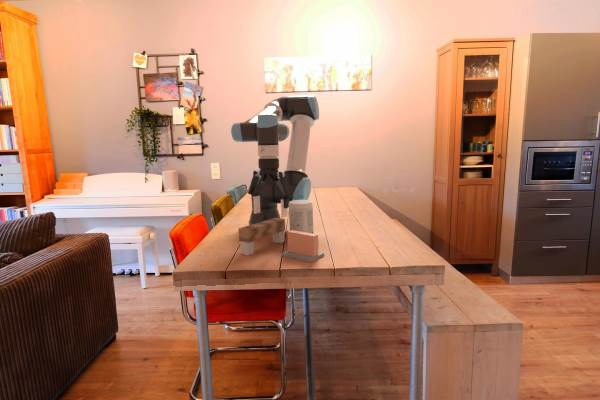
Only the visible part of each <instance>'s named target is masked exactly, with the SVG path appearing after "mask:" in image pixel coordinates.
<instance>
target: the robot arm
mask: <svg viewBox="0 0 600 400" xmlns="http://www.w3.org/2000/svg"><path fill="white" fill-rule="evenodd" d="M319 109H320V108H319V102H318V100H317V97H316V96H315V95H313V94H305V95H284V96H280V97H278V98H274V99H273V100H271V101H269V102H268V103H267V104H266V105H264V107H263V109H261V110H260V111H259V112H257V113H256V114H255V115H253V116H252V117H250V118H248V119H247V120H245V121H244V122H241V121H239V122H235V123H233V124H232V126H231V129H230V134H231V137H232V139H233V141H234V142H236V143H238V142H239V143H251V142H252V143H255V142H257V154H258V155H257V156H258V162H257V163H258V164H257V165H258V169H256V170H253V172H252V178H251V180H250V185H249V188H248V190H247V194H248V195H250V196H251V198H250V199H251V212H250V216H249V217H250V218H249V220H248V226H249V225H252V224H256V223H259V222H263V221H266V220H269V219H273V218H282V219H284V218H286V217H289V202H290V201H293V200H309V198H310V195H311V191H312V187H311V186H312V182H311V179H310V178H309V175H308V173H306V166H307V161H308V160H307V158H308V151H309V142H310V133H311V127H313V126H314V125H315V121H317V120H319V118H320V110H319ZM283 121H284V122H283ZM287 121H289V122H290V124H291V125H292V126H291V132H290V127H289V126H288V124H286V123H285V122H287ZM289 136H290V139H289V140H290V141H289V146H288V147H289V148H288V154H287V162H286V168H285V170H283V171H282V170H281V171H279V168H280V158H279V157H280V152H279V151H280V150H279V147H280V146H279V142H282V141H286V140H287V138H289ZM278 204H280V212H279V209H278ZM280 213H281V215H280Z"/></svg>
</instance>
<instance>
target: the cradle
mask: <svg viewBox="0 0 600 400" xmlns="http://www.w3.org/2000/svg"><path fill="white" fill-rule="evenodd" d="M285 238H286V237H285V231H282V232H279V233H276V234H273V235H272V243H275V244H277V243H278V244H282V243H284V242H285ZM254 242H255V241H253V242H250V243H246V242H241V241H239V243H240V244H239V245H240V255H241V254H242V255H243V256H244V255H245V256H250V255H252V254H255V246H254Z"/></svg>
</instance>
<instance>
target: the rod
mask: <svg viewBox="0 0 600 400" xmlns="http://www.w3.org/2000/svg"><path fill="white" fill-rule="evenodd" d="M282 231H284V232H285V231H286V219H285V218H282V217H280V218H273V219H269V220H266V221H263V222H259V223H256V224H252V225H249V224H248V225H246V226H245V225H244V226H243V227H239V228H238V242H240V241H241V242H246V243H250V242H255V241H259V240H260V239H264V238H267V237H269V236H273V234H276V233H279V232H282Z"/></svg>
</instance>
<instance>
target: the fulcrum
mask: <svg viewBox="0 0 600 400" xmlns="http://www.w3.org/2000/svg"><path fill="white" fill-rule="evenodd" d="M286 236H287V250H286V251H283V252H281V257H285V258H289V259H294V260H299V261H302V262H307V263H310V264H311V263H313V262H315V261H316V260H318V259H321V258H322V257H324V256H325V252H322V251H321V252H320V251H319V234H318V233H317V234H316V233H313V234H312V233H306V232H300V231H295V230H291V231H290V230H288V231H287V235H286Z"/></svg>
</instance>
